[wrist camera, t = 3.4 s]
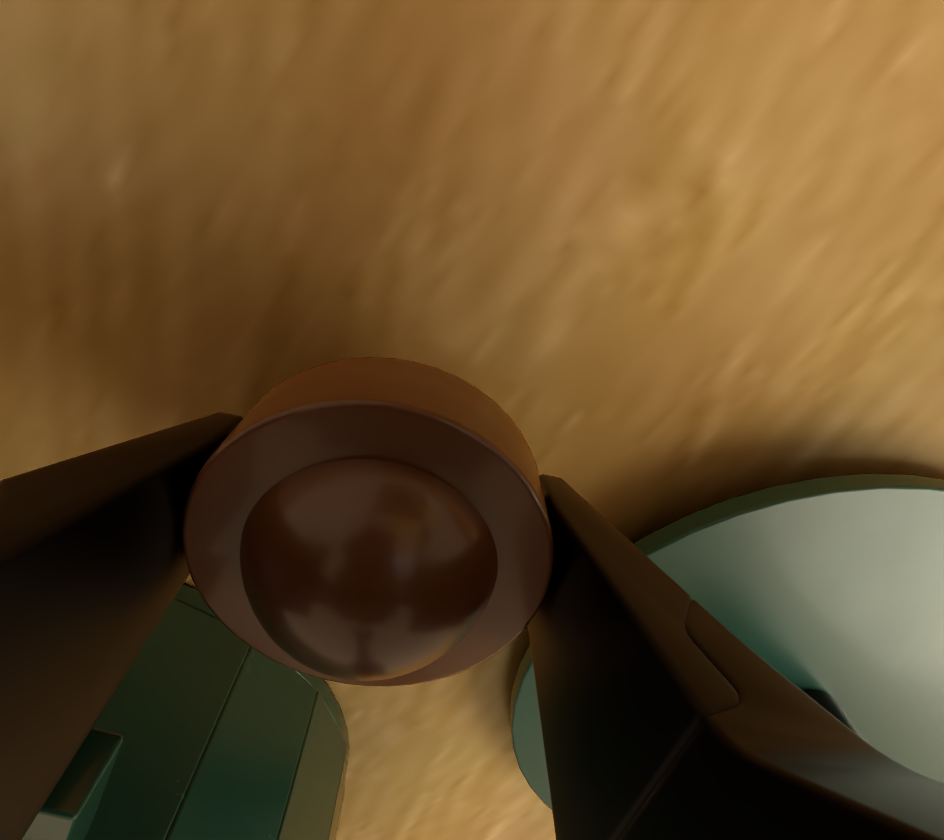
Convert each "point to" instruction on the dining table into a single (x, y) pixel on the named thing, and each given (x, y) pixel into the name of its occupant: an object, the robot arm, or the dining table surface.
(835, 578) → the lid
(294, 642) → the mushroom
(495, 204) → the dining table surface
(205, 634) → the pot
